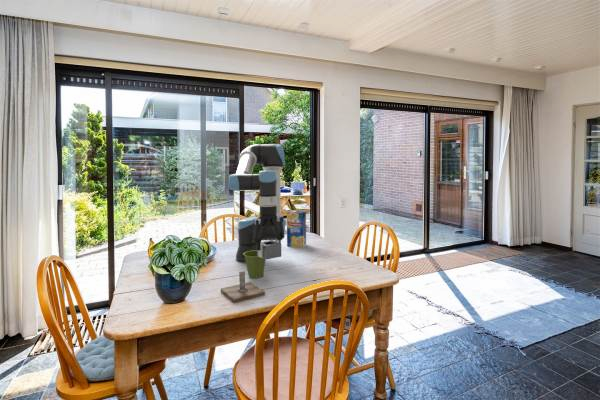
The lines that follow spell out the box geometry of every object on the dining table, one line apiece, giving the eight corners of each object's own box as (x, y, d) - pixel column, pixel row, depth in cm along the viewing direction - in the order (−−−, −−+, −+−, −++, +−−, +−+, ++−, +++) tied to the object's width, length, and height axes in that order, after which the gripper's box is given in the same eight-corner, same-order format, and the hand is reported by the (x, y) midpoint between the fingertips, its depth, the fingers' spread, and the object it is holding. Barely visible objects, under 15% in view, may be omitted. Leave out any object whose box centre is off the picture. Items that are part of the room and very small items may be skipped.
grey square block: (257, 255, 163) (256, 242, 162) (272, 252, 168) (272, 240, 167) (265, 259, 156) (265, 246, 156) (281, 256, 161) (281, 243, 160)
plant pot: (264, 280, 169) (264, 257, 167) (240, 279, 171) (239, 256, 169) (270, 272, 180) (270, 250, 179) (248, 271, 182) (247, 249, 181)
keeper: (220, 291, 155) (220, 270, 154) (250, 285, 163) (249, 264, 161) (234, 302, 143) (233, 280, 142) (265, 295, 151) (264, 273, 150)
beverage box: (290, 243, 237) (290, 210, 234) (306, 244, 234) (306, 211, 231) (286, 246, 231) (286, 212, 228) (303, 247, 227) (303, 213, 225)
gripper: (250, 208, 150) (252, 261, 153) (292, 204, 162) (292, 253, 165) (243, 206, 156) (244, 257, 159) (283, 202, 168) (284, 250, 171)
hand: (269, 255), depth 162 cm, fingers closed on grey square block, 8 cm apart
